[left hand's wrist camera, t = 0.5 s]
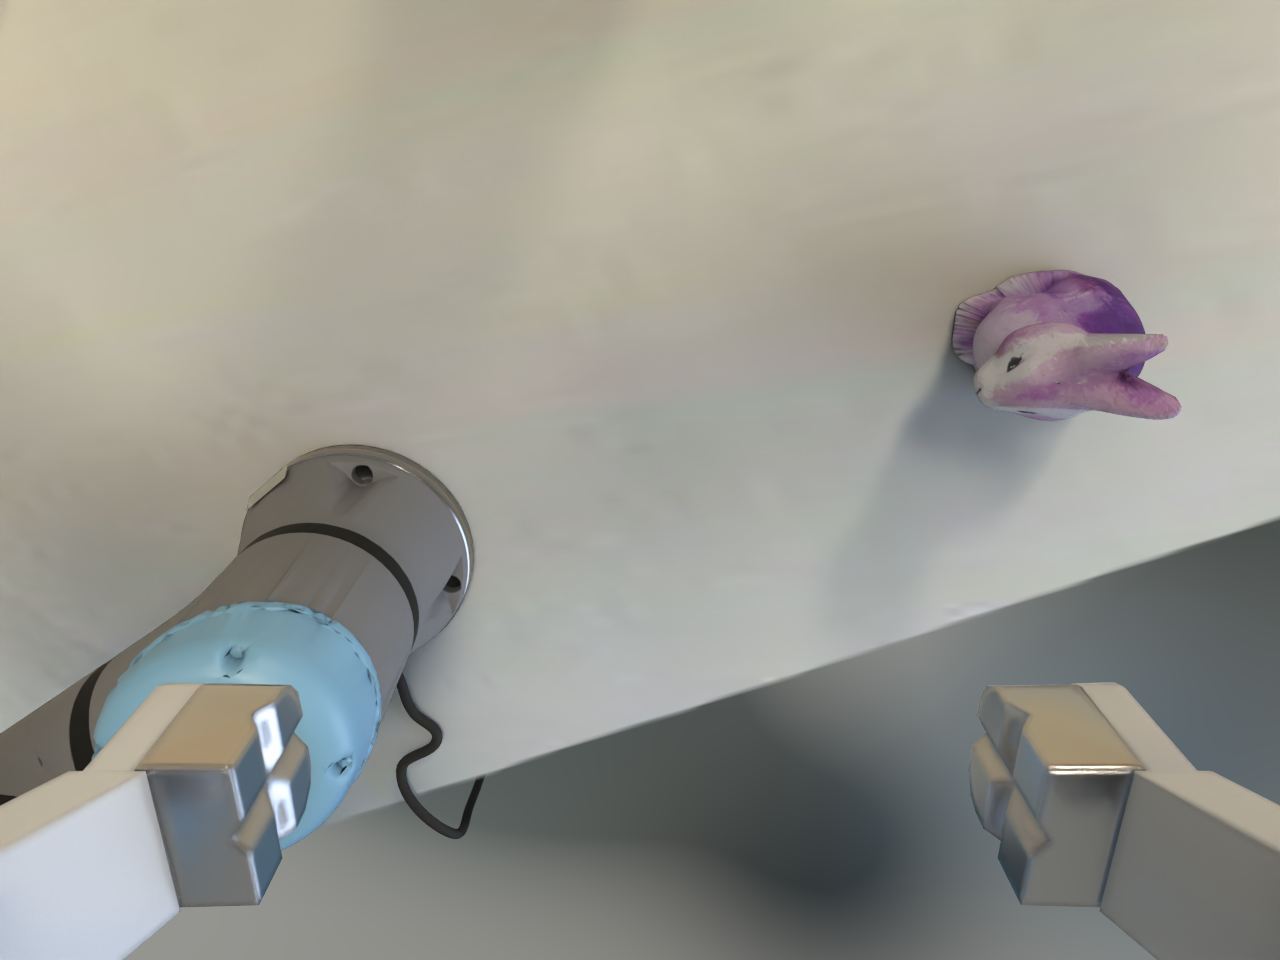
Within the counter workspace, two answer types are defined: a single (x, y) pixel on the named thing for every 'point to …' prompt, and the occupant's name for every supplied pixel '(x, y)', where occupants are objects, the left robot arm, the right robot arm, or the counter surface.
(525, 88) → the counter surface
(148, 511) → the counter surface
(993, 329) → the figurine
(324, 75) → the counter surface
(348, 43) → the counter surface
